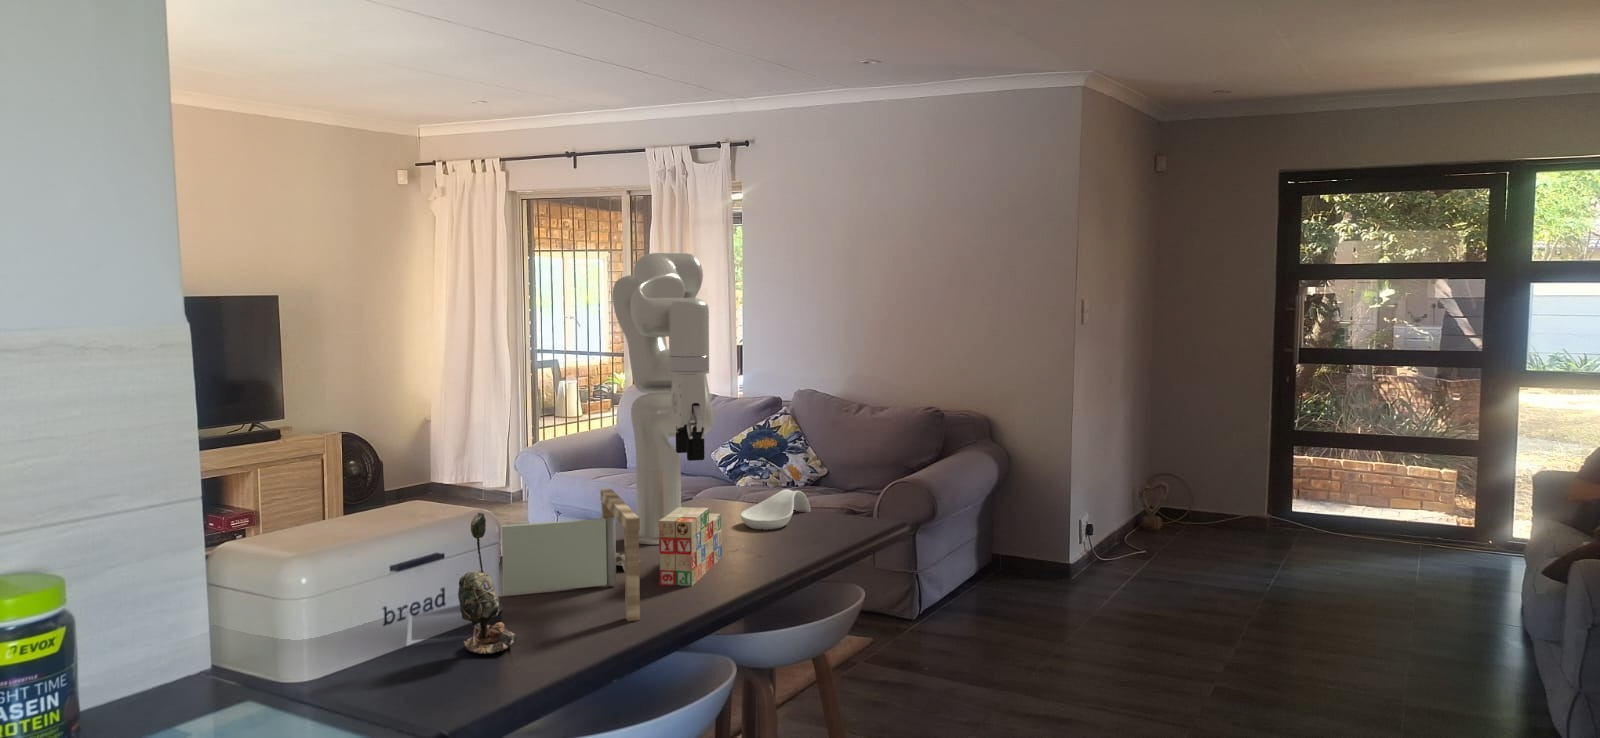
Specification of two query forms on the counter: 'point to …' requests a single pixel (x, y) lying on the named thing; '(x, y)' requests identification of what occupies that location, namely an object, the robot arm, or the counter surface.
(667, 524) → the stack of blocks
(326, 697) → the counter surface
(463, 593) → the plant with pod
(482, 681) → the counter surface
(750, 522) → the spoon rest
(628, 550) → the door frame
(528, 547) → the door
